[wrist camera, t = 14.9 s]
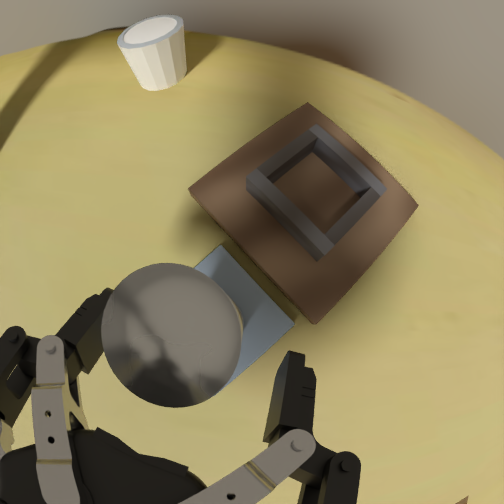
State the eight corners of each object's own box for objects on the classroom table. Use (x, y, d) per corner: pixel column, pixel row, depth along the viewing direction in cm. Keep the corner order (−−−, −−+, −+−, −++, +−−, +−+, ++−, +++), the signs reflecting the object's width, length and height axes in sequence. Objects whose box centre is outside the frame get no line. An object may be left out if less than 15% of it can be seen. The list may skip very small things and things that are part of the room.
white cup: (142, 62, 26) (127, 20, 20) (195, 54, 27) (188, 9, 20) (128, 98, 25) (107, 54, 18) (188, 90, 25) (177, 40, 18)
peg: (177, 319, 20) (78, 323, 7) (217, 283, 20) (174, 233, 8) (214, 360, 19) (165, 432, 6) (255, 324, 20) (273, 344, 7)
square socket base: (190, 194, 22) (182, 175, 19) (305, 110, 25) (311, 86, 21) (312, 323, 20) (324, 325, 17) (412, 210, 23) (431, 196, 19)
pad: (145, 315, 20) (142, 315, 20) (221, 246, 21) (220, 244, 21) (214, 393, 19) (214, 395, 18) (293, 323, 20) (295, 324, 20)
